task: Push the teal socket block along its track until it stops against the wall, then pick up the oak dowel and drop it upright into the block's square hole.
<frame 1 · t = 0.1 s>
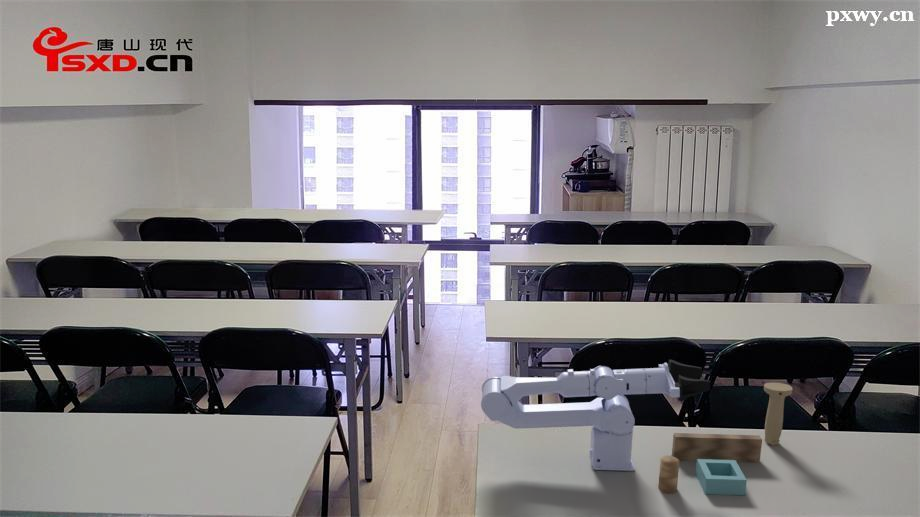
hand: (705, 378, 183), 22 cm above the table, tool horizontal, fingers open, 7 cm apart
wall: (715, 459, 192), on the table
handle: (771, 443, 200), on the table
socket block: (720, 476, 180), point 2 cm above the table, slide at 0.0 cm
dowel: (667, 489, 179), on the table
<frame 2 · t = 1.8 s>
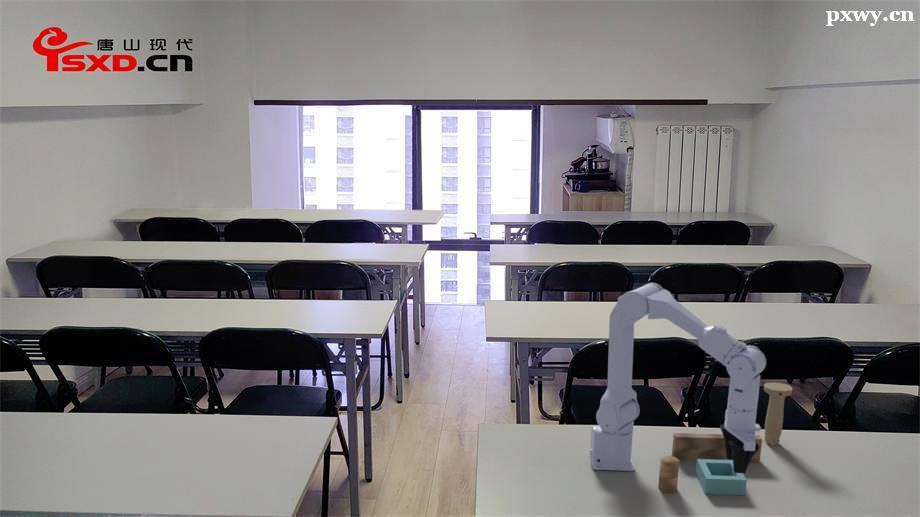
hand: (735, 465, 169), 10 cm above the table, tool pointing down, fingers open, 5 cm apart
nothing on the table moved.
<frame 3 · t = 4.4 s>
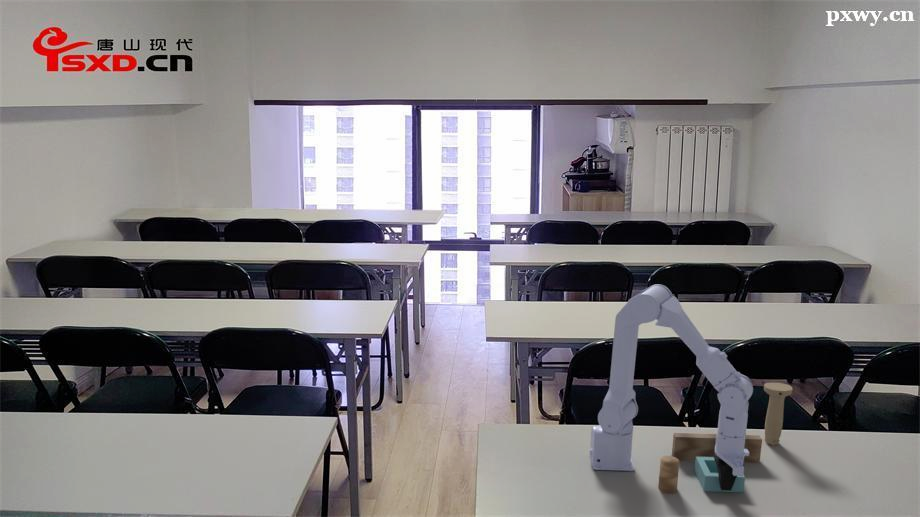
hand: (725, 488, 176), 2 cm above the table, tool pointing down, fingers closed
socket block: (719, 474, 181), point 2 cm above the table, slide at 1.1 cm, touching gripper
everything else where it was.
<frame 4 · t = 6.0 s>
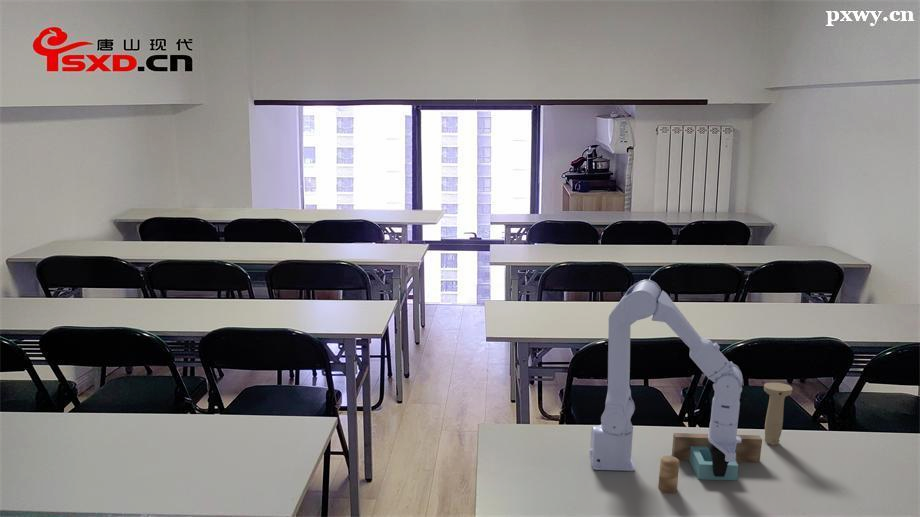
hand: (718, 475, 181), 2 cm above the table, tool pointing down, fingers closed, pressing on socket block
socket block: (713, 462, 186), point 2 cm above the table, slide at 6.2 cm, touching gripper, wall
everything else where it was.
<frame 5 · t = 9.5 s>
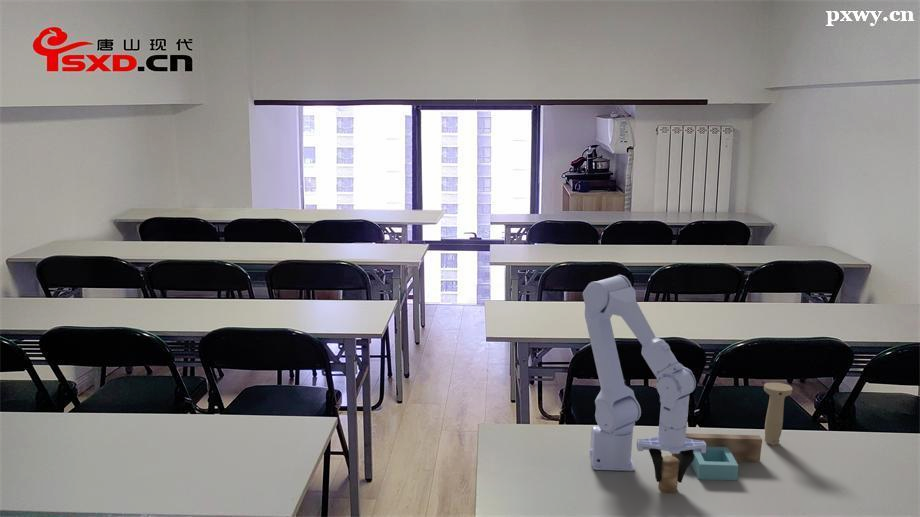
hand: (668, 479, 178), 2 cm above the table, tool pointing down, fingers closed on dowel, 4 cm apart
socket block: (713, 462, 186), point 2 cm above the table, slide at 6.2 cm
dowel: (667, 488, 179), on the table, touching gripper
everything else where it was.
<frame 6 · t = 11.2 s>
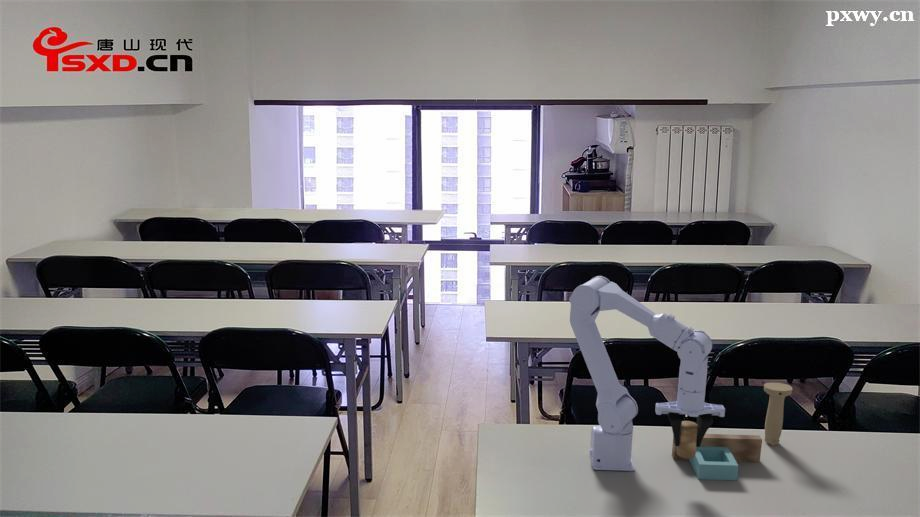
hand: (686, 444, 179), 9 cm above the table, tool pointing down, fingers closed on dowel, 4 cm apart
dowel: (686, 453, 179), point 7 cm above the table, touching gripper
everything else where it was.
when the fingers open (4 cm above the table, at t = 13.1 s): dowel drops 1 cm, resting on socket block.
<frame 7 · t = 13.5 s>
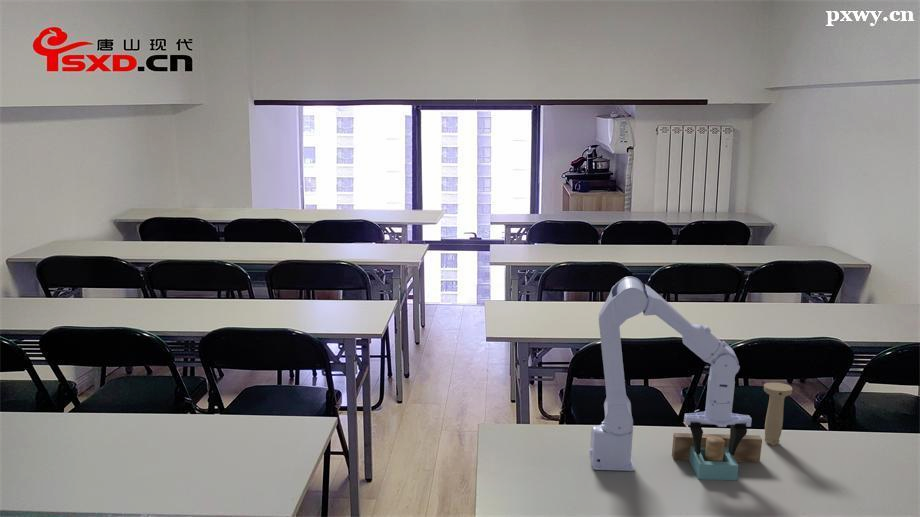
hand: (714, 453, 185), 4 cm above the table, tool pointing down, fingers open, 7 cm apart
socket block: (713, 462, 186), point 2 cm above the table, slide at 6.2 cm, touching dowel
dowel: (712, 468, 186), point 1 cm above the table, touching socket block
everything else where it was.
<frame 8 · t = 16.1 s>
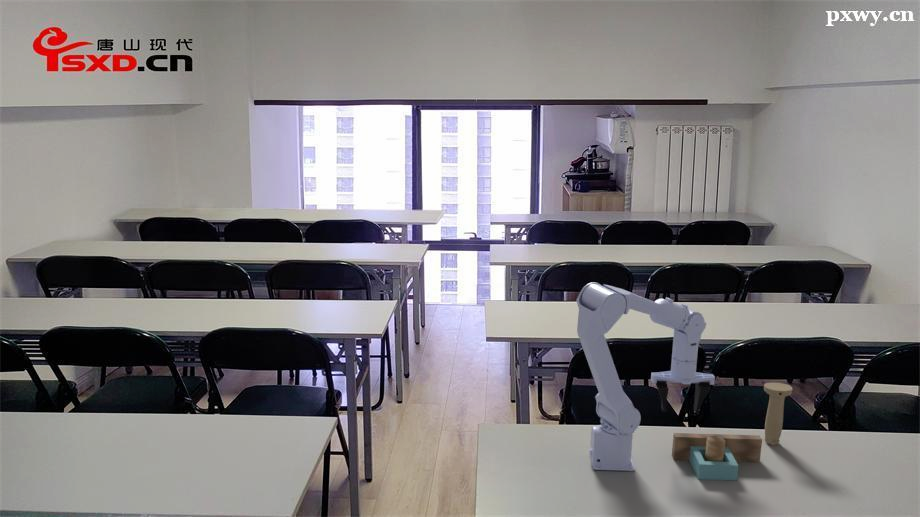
hand: (679, 410, 194), 10 cm above the table, tool pointing down, fingers open, 7 cm apart
nothing on the table moved.
at the end: socket block slide at 6.2 cm; dowel 0.2 cm from the target spot, point 0.7 cm above the table; dowel tilted 1° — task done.
